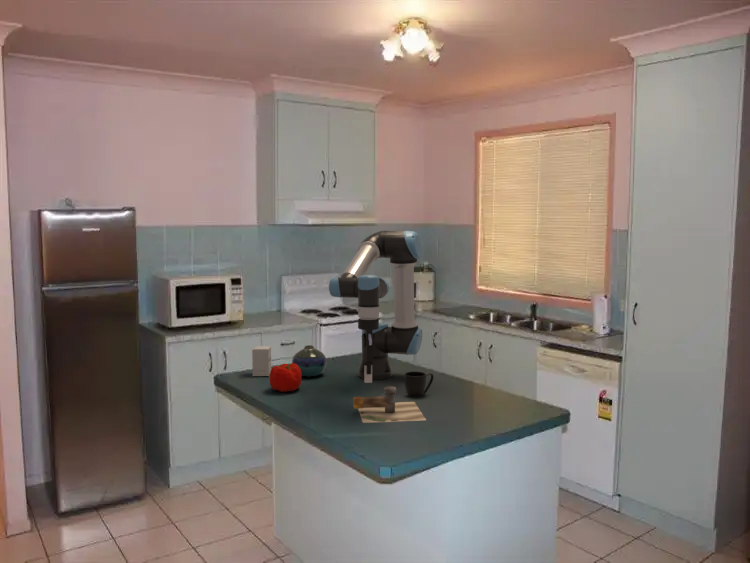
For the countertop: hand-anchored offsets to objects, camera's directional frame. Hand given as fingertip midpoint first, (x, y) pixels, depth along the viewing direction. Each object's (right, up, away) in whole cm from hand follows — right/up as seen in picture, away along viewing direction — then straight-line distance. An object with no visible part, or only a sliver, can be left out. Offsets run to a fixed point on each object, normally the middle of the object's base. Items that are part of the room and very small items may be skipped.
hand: (368, 382), depth 233 cm
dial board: (+8, -11, -4) cm, 14 cm away
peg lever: (+2, -10, -4) cm, 11 cm away
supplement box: (-48, -6, +53) cm, 72 cm away
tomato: (-34, -8, +29) cm, 45 cm away
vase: (-27, -6, +53) cm, 60 cm away
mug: (+20, -9, +19) cm, 29 cm away
